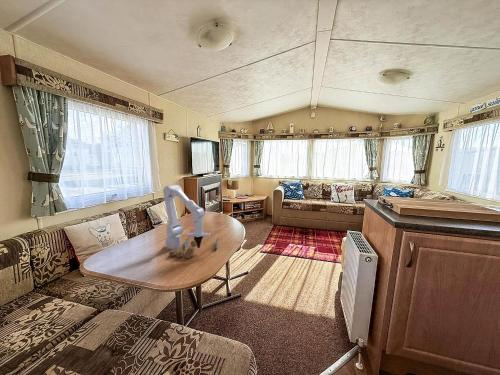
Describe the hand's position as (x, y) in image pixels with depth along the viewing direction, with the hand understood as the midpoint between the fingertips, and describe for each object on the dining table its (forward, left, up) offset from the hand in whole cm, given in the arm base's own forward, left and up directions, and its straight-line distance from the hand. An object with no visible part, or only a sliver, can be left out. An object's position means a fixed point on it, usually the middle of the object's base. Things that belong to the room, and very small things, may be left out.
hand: (198, 247), depth 131 cm
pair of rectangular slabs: (0, +10, -4) cm, 11 cm away
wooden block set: (-8, -8, 0) cm, 11 cm away
